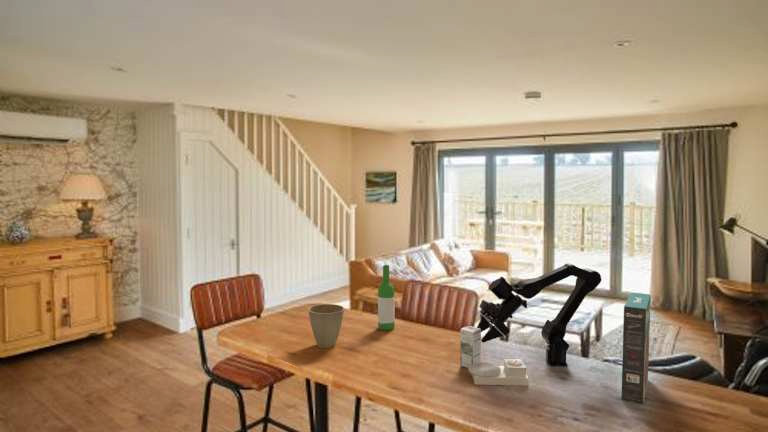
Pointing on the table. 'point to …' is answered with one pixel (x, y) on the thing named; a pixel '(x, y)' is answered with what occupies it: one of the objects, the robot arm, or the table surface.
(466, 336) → the syrup box
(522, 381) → the scale
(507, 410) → the table surface
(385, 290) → the wine bottle
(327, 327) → the plant pot
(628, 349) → the cake mix box
